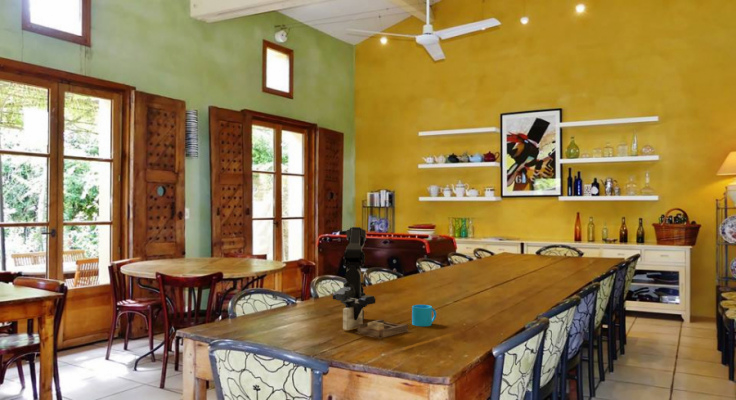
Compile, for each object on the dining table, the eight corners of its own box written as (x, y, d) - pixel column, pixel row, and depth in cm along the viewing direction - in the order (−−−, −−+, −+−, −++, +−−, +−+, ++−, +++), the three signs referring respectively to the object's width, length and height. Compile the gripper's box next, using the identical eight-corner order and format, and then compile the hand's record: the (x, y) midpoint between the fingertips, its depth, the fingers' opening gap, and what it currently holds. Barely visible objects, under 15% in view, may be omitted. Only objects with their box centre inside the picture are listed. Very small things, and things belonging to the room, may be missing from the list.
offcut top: (367, 328, 206) (367, 323, 206) (373, 326, 209) (373, 321, 209) (378, 330, 203) (378, 324, 203) (383, 328, 206) (383, 323, 206)
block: (358, 325, 216) (359, 305, 216) (362, 326, 215) (362, 306, 215) (342, 329, 210) (343, 308, 210) (346, 329, 208) (346, 309, 208)
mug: (421, 329, 217) (421, 309, 217) (408, 325, 223) (408, 305, 223) (442, 325, 224) (442, 305, 224) (429, 322, 231) (429, 302, 231)
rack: (353, 334, 207) (353, 325, 207) (384, 326, 220) (384, 318, 221) (380, 340, 198) (380, 331, 198) (410, 332, 211) (410, 323, 211)
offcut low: (364, 332, 207) (364, 327, 207) (371, 331, 210) (371, 325, 210) (378, 335, 202) (378, 330, 202) (385, 334, 205) (385, 328, 205)
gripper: (322, 279, 213) (322, 319, 213) (356, 284, 200) (356, 326, 200) (342, 276, 221) (342, 314, 221) (376, 281, 208) (376, 321, 208)
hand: (353, 319), depth 213 cm, fingers closed on block, 2 cm apart
